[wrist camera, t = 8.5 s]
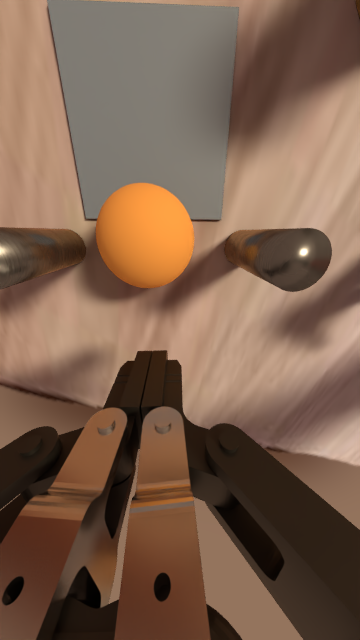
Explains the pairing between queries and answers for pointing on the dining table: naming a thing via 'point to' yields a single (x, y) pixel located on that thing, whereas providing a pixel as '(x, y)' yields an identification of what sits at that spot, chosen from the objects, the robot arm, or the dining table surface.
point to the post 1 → (36, 253)
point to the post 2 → (281, 255)
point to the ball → (144, 235)
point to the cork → (358, 6)
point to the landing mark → (148, 97)
